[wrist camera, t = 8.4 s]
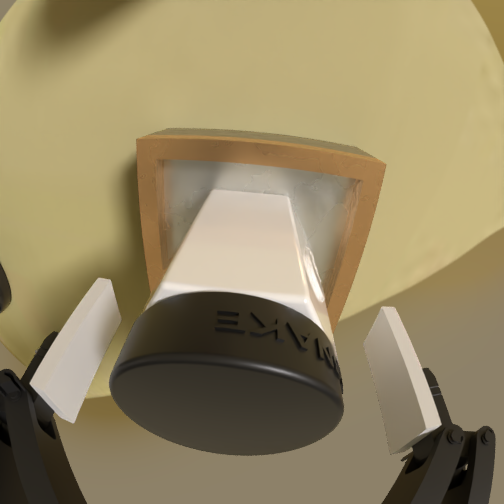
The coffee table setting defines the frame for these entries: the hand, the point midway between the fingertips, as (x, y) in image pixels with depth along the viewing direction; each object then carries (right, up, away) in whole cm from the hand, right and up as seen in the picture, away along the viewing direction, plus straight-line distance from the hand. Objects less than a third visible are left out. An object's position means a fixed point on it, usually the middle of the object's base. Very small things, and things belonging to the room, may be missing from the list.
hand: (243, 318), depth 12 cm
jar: (0, +3, +6) cm, 7 cm away
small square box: (+1, +6, +9) cm, 11 cm away
